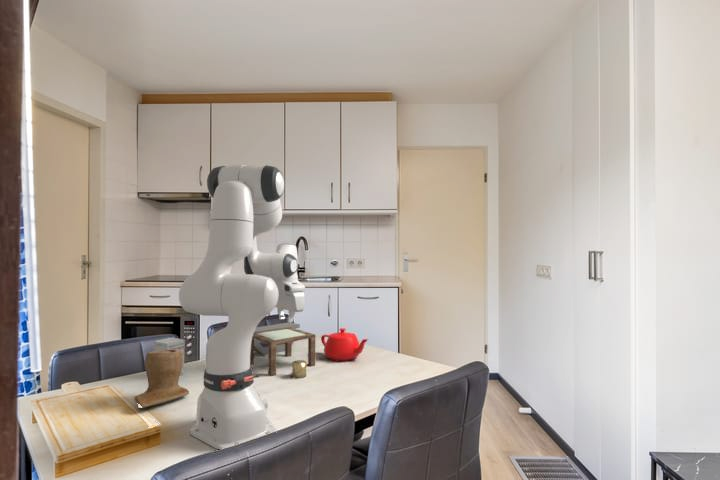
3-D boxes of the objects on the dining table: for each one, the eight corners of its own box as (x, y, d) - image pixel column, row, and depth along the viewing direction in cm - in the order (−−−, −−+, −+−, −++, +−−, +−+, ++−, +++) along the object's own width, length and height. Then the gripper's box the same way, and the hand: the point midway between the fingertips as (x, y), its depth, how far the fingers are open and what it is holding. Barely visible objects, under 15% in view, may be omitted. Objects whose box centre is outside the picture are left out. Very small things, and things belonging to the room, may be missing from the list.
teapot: (309, 357, 163) (309, 328, 163) (332, 349, 176) (333, 322, 176) (357, 367, 148) (357, 336, 149) (378, 358, 161) (378, 329, 161)
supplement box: (152, 376, 137) (153, 340, 137) (171, 370, 143) (172, 336, 144) (166, 380, 133) (167, 343, 134) (184, 373, 140) (185, 339, 140)
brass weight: (309, 376, 138) (309, 362, 138) (297, 379, 135) (297, 365, 135) (301, 373, 142) (301, 359, 142) (289, 375, 138) (289, 362, 139)
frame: (315, 365, 151) (315, 334, 151) (271, 375, 138) (271, 342, 138) (289, 355, 166) (289, 327, 166) (246, 363, 153) (247, 333, 153)
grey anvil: (289, 345, 183) (290, 322, 183) (299, 348, 178) (299, 324, 178) (241, 355, 165) (241, 329, 166) (250, 358, 160) (250, 332, 160)
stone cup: (175, 389, 125) (176, 342, 125) (194, 398, 117) (195, 348, 118) (123, 403, 113) (125, 352, 113) (141, 414, 106) (142, 359, 106)
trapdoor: (305, 337, 152) (305, 334, 152) (274, 342, 142) (274, 339, 142) (287, 331, 162) (287, 328, 162) (256, 336, 153) (256, 333, 153)
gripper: (266, 283, 156) (265, 317, 155) (293, 287, 141) (293, 325, 140) (279, 282, 160) (279, 316, 160) (307, 286, 145) (307, 323, 144)
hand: (286, 320), depth 150 cm, fingers open, 5 cm apart
